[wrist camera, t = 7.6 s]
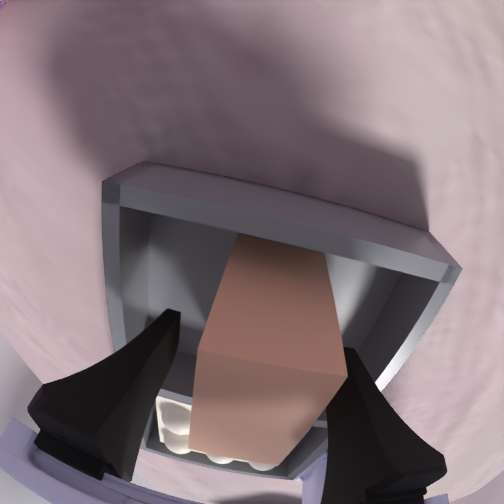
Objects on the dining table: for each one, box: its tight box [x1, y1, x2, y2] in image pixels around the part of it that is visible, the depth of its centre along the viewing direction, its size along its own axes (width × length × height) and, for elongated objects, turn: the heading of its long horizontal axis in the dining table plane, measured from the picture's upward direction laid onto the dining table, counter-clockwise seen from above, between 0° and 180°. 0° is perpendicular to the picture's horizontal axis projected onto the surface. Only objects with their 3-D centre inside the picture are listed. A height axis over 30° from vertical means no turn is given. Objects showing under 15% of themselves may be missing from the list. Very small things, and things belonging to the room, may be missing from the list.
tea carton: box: [188, 233, 348, 465], centre depth 12 cm, size 7×4×7 cm, turn 169°
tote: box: [102, 161, 462, 480], centre depth 16 cm, size 23×14×4 cm, turn 168°
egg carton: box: [156, 395, 311, 471], centre depth 19 cm, size 8×10×4 cm
